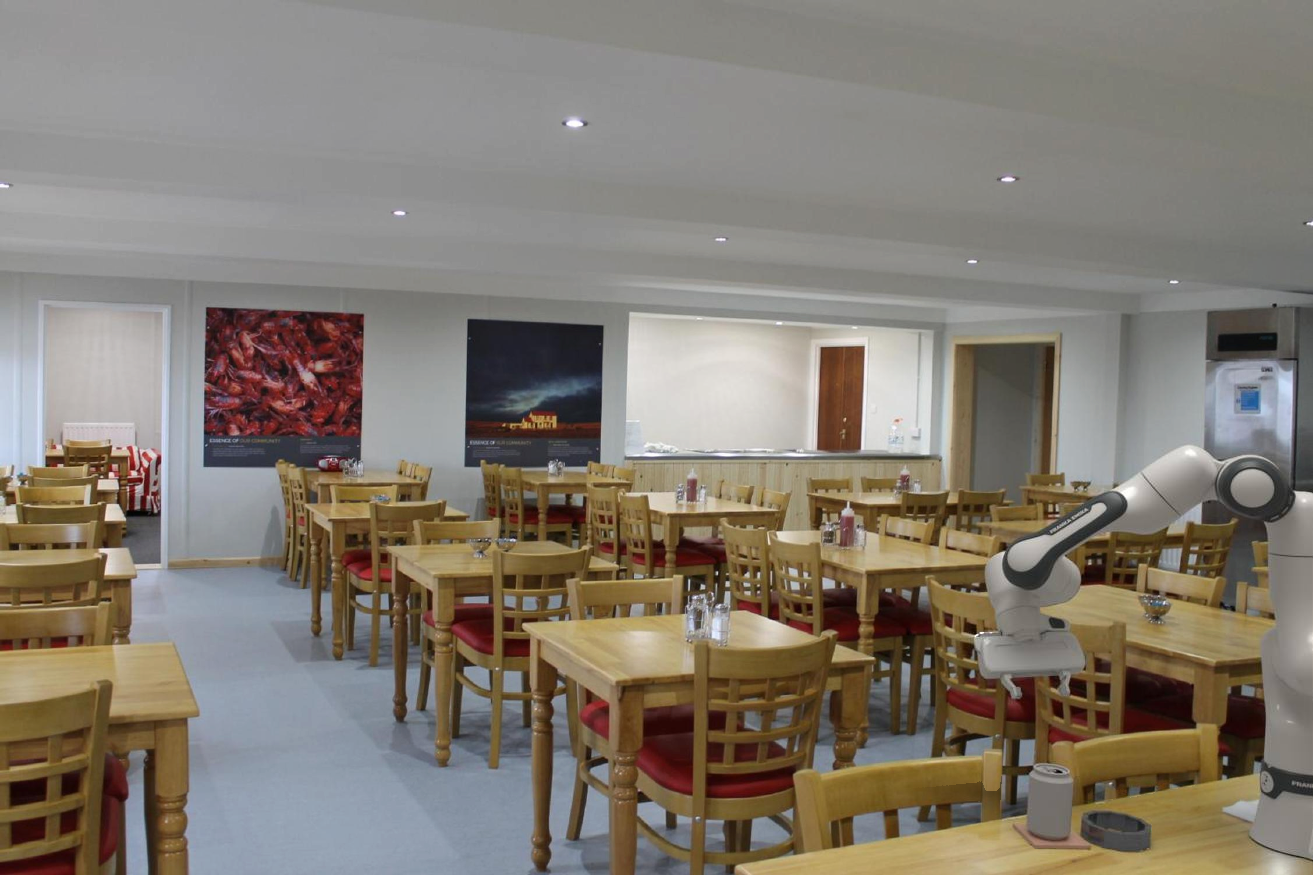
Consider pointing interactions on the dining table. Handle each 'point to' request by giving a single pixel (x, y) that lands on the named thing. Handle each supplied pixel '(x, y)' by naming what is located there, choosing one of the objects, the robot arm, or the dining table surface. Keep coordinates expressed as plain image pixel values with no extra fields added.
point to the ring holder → (1130, 840)
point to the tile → (1037, 842)
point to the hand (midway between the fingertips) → (1041, 696)
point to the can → (1050, 801)
